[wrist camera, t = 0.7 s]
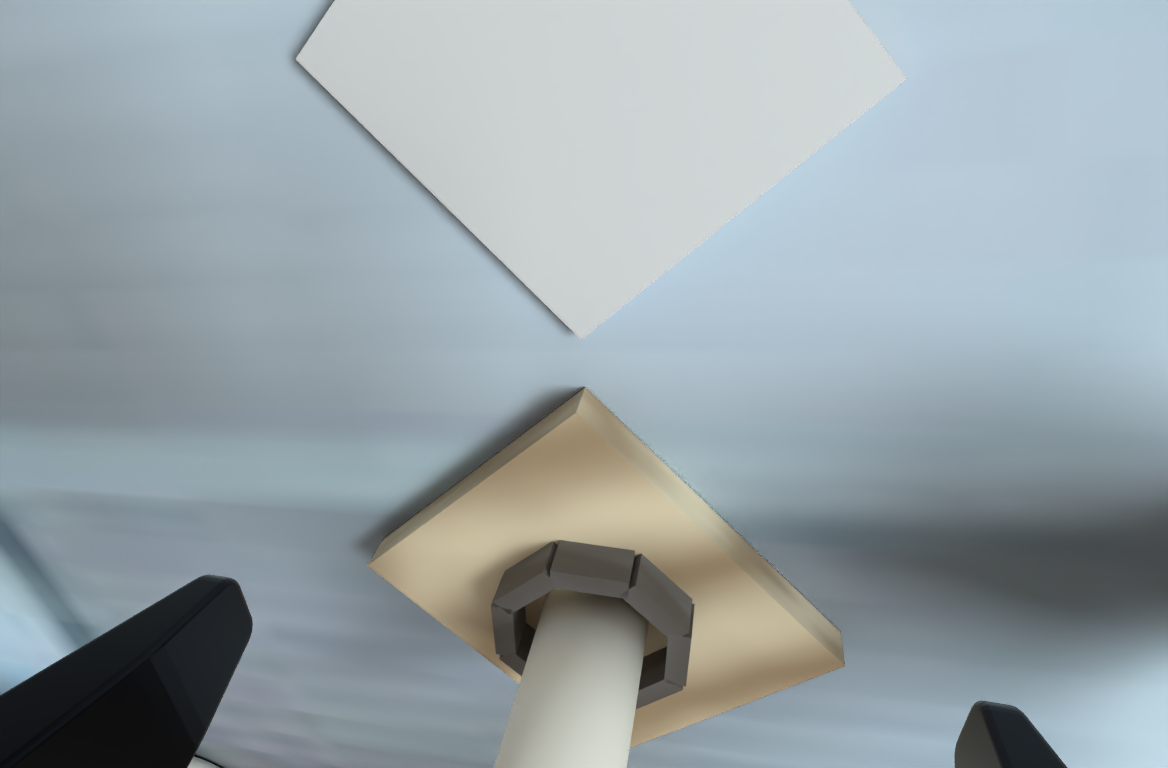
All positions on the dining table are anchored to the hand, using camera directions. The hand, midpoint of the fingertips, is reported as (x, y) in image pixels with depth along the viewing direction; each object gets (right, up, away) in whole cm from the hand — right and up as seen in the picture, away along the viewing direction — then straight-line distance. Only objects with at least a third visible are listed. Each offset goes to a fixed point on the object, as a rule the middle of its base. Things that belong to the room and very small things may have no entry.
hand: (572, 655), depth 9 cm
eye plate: (+1, -5, +20) cm, 21 cm away
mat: (0, +12, +10) cm, 15 cm away
